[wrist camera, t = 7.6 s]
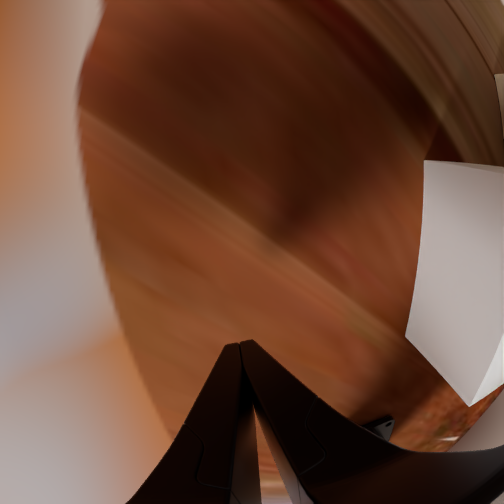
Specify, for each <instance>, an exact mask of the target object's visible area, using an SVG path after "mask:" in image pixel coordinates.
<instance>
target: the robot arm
mask: <svg viewBox="0 0 504 504" xmlns="http://www.w3.org/2000/svg"><path fill="white" fill-rule="evenodd" d="M253 405H254V407H253ZM254 409H255V412H256V415H257V418H258V420H259V423H260V426H261V428H262V431H263V433H264V436H265V438H266V441H267V443H268V446H269V448H270V451H271V453H272V456H273V458H274V461H275V463H276V465H277V468H278V470H279V473H280V475H281V477H282V480H283V482H284V484H285V487H286V489H287V491H288V493H289V496H290V498H291V500H292V502H293V504H504V445H502V446H499V447H496V448H493V449H487V450H477V451H463V452H417V451H411V450H407V449H404V448H401V447H399V446H397V445H395V444H392V443H391V442H389V439H390V436H391V432H392V429H393V426H394V423H395V420H394V418H393V417H392V416H388V417H385V418H383V419H381V420H378V421H376V422H373V423H371V424H368V425H366V426H363V427H361V426H359V425H358V424H356V423H354V422H353V421H351V420H350V419H348V418H346V417H345V416H343V415H342V414H340V413H339V412H338V411H336V410H335V409H333V408H332V407H331V406H329V405H328V404H327V403H326V402H325V401H323V400H322V399H321V398H319V397H318V396H317V395H316V394H315V393H314V392H312V391H311V390H310V389H309V388H308V387H306V386H305V385H304V384H303V383H302V382H301V381H299V380H298V379H297V378H296V377H295V376H294V375H292V374H291V373H290V372H289V371H288V370H287V369H286V368H284V367H283V366H282V365H281V364H280V363H279V362H278V361H276V360H275V359H274V358H273V357H272V356H271V355H270V354H269V353H267V352H266V351H265V350H264V349H263V348H262V347H261V346H260V345H259V344H258V343H256V342H255V341H254V340H252V339H251V340H246V341H241V342H240V344H239V343H231V344H227V345H225V346H224V348H223V350H222V352H221V354H220V355H219V357H218V359H217V361H216V363H215V365H214V367H213V369H212V371H211V373H210V374H209V376H208V378H207V380H206V382H205V384H204V386H203V388H202V390H201V392H200V393H199V395H198V397H197V399H196V401H195V403H194V405H193V407H192V408H191V410H190V412H189V414H188V416H187V418H186V420H185V421H184V424H183V425H182V427H181V429H180V430H179V432H178V434H177V436H176V437H175V439H174V441H173V443H172V444H171V446H170V448H169V449H168V450H167V452H166V453H165V455H164V456H163V458H162V459H161V460H160V462H159V463H158V465H157V466H156V467H155V469H154V470H153V471H152V473H151V474H150V475H149V477H148V478H147V479H146V480H145V482H144V483H143V484H142V485H141V487H140V488H139V489H138V491H137V492H136V493H135V494H134V495H133V497H132V498H131V499H130V500H129V501H128V502H127V503H126V504H262V502H261V490H260V478H259V465H258V452H257V439H256V426H255V414H254Z"/></svg>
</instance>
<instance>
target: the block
mask: <svg viewBox="0 0 504 504" xmlns="http://www.w3.org/2000/svg"><path fill="white" fill-rule="evenodd" d="M405 337H406V338H407V339H408V340H409V341H410V342H411V343H412V344H413V345H414V346H415V347H416V348H417V349H418V351H419V352H420V353H421V354H422V355H423V356H424V357H425V358H426V359H427V360H428V361H429V362H430V363H431V365H432V366H433V367H434V368H435V369H436V370H437V371H438V372H439V373H440V374H441V376H442V377H443V378H444V379H445V380H446V381H447V382H448V383H449V385H450V386H451V387H452V388H453V389H454V390H455V391H456V392H457V394H458V395H459V396H460V397H461V398H462V399H463V401H464V402H465V403H466V404H467V405H468V406H469V407H470V406H471V405H473V404H474V403H476V402H477V401H479V400H481V399H482V398H484V397H485V396H487V395H488V394H489V393H491V392H492V391H494V390H495V389H497V388H498V387H499V386H501V385H502V384H503V383H504V167H500V166H492V165H482V164H472V163H461V162H448V161H431V160H424V196H423V216H422V230H421V241H420V251H419V259H418V267H417V274H416V281H415V288H414V294H413V299H412V305H411V310H410V315H409V320H408V325H407V329H406V334H405Z"/></svg>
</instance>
